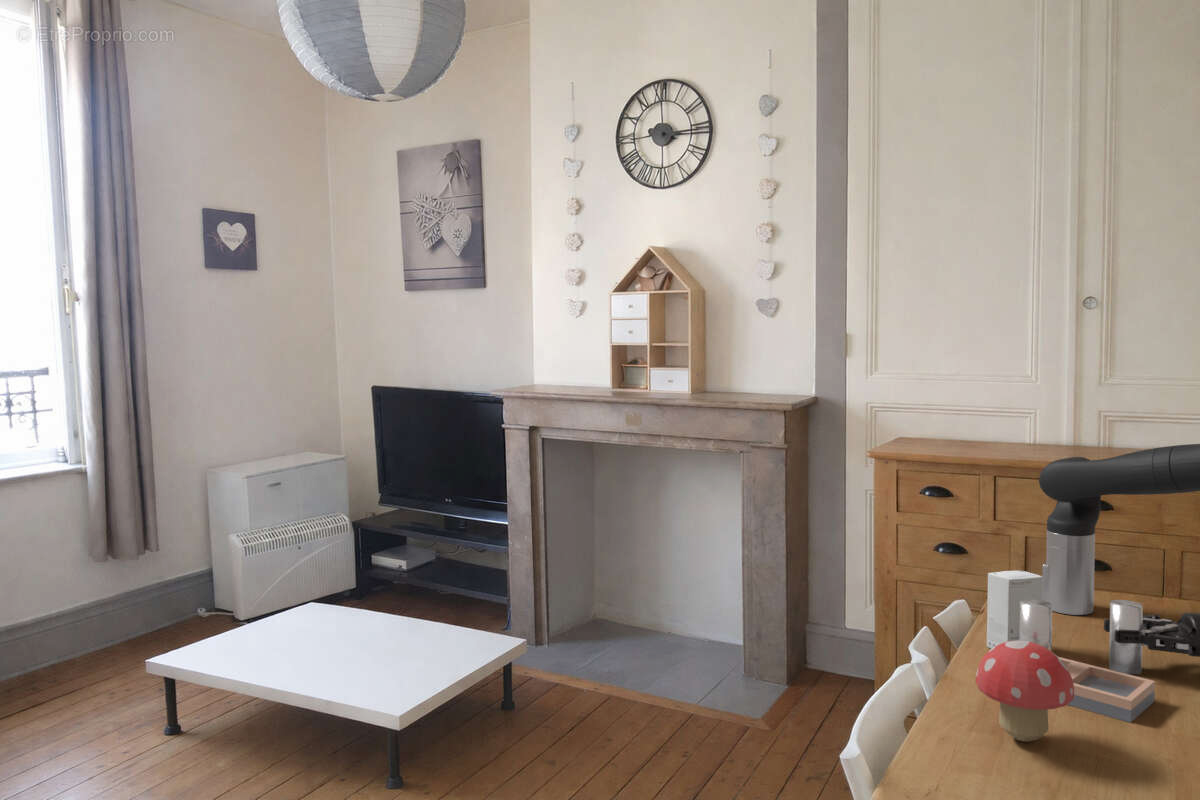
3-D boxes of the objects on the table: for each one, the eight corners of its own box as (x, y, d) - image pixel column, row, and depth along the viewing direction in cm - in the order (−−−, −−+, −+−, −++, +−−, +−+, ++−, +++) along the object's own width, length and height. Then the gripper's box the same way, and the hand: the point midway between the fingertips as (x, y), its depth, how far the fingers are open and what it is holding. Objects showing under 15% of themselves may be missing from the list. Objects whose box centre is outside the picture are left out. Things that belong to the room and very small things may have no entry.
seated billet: (1014, 670, 153) (1015, 603, 152) (1026, 663, 156) (1027, 597, 155) (1044, 679, 149) (1045, 610, 148) (1055, 670, 152) (1057, 603, 151)
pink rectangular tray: (990, 682, 153) (990, 663, 153) (1018, 665, 160) (1018, 646, 160) (1130, 722, 136) (1131, 701, 136) (1154, 701, 143) (1154, 681, 143)
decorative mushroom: (989, 712, 141) (990, 622, 140) (1082, 735, 132) (1084, 639, 131) (963, 744, 131) (964, 647, 129) (1062, 771, 122) (1064, 667, 121)
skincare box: (1007, 657, 164) (1008, 580, 163) (984, 646, 170) (985, 572, 168) (1043, 651, 166) (1044, 575, 165) (1019, 641, 172) (1020, 567, 171)
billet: (1104, 669, 157) (1105, 604, 156) (1115, 661, 160) (1116, 598, 160) (1135, 677, 153) (1137, 610, 153) (1145, 669, 157) (1146, 603, 156)
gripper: (1198, 602, 160) (1096, 598, 164) (1237, 628, 146) (1124, 623, 150) (1197, 642, 160) (1096, 637, 164) (1235, 672, 147) (1123, 665, 150)
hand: (1110, 630), depth 157 cm, fingers closed on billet, 5 cm apart
